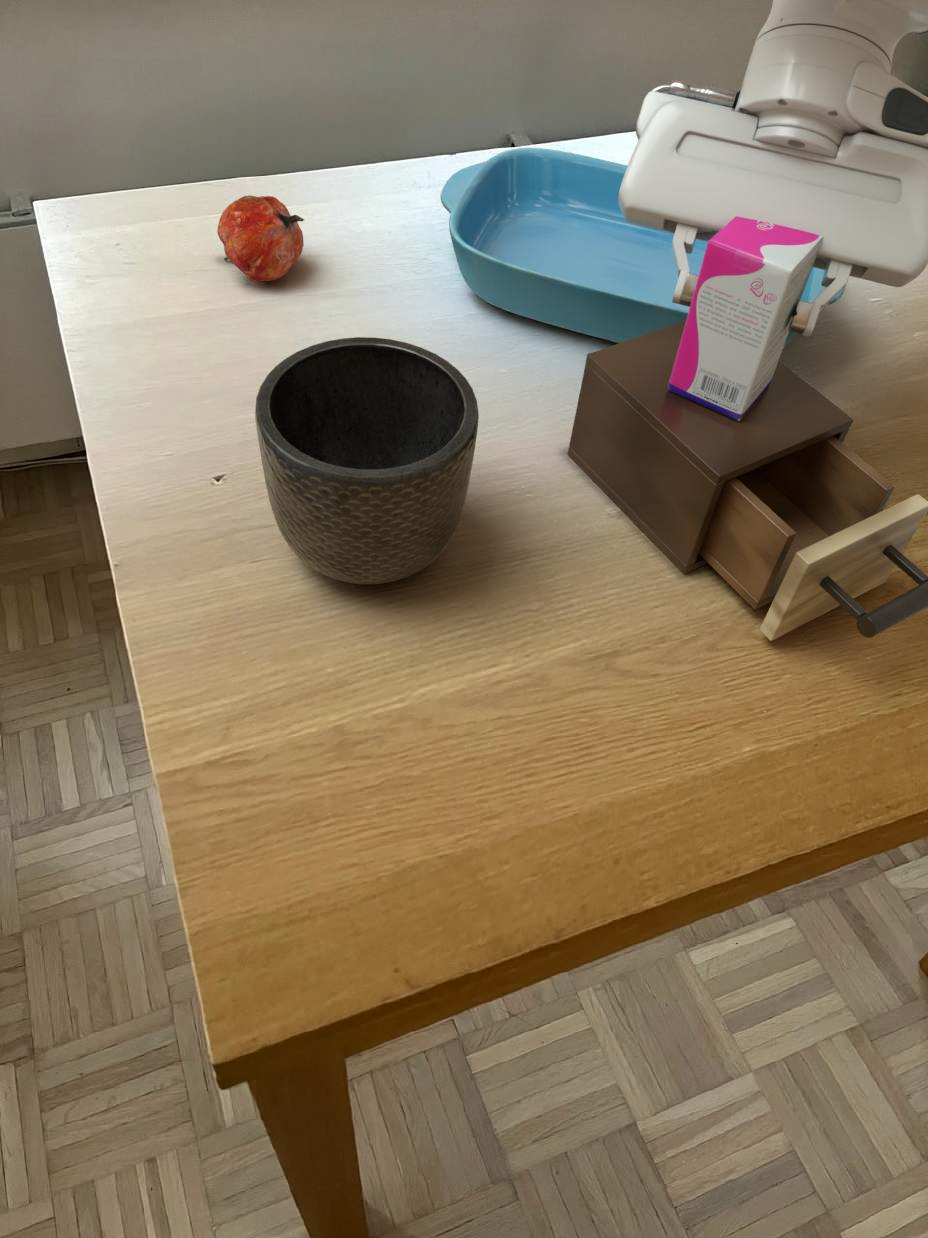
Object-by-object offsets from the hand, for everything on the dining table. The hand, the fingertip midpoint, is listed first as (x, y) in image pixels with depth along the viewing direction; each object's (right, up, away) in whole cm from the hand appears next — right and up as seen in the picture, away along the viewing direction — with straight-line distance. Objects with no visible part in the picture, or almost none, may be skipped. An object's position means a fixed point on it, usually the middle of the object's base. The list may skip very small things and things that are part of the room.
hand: (741, 317), depth 68 cm
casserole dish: (-3, +11, +29) cm, 31 cm away
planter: (-25, -15, +6) cm, 30 cm away
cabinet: (-1, -9, +12) cm, 16 cm away
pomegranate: (-37, +12, +27) cm, 47 cm away
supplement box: (0, -4, +5) cm, 6 cm away
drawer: (+5, -16, +6) cm, 18 cm away
